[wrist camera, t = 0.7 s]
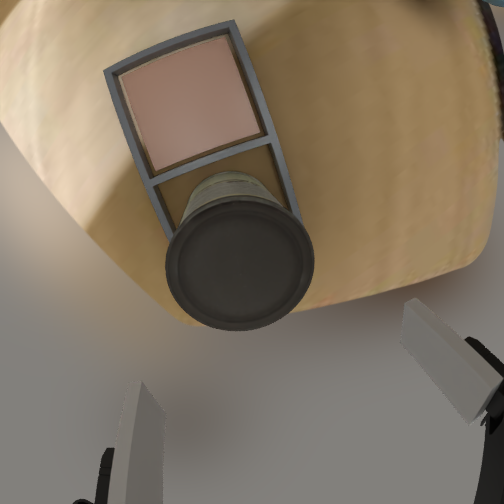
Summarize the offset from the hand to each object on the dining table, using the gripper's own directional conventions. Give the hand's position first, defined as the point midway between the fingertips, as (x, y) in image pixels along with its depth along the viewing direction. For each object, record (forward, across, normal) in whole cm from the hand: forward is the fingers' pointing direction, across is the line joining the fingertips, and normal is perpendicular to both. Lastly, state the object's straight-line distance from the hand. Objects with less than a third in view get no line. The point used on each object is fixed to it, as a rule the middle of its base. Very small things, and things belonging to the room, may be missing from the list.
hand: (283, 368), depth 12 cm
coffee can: (+22, 0, +2) cm, 22 cm away
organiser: (+22, -1, +9) cm, 23 cm away
